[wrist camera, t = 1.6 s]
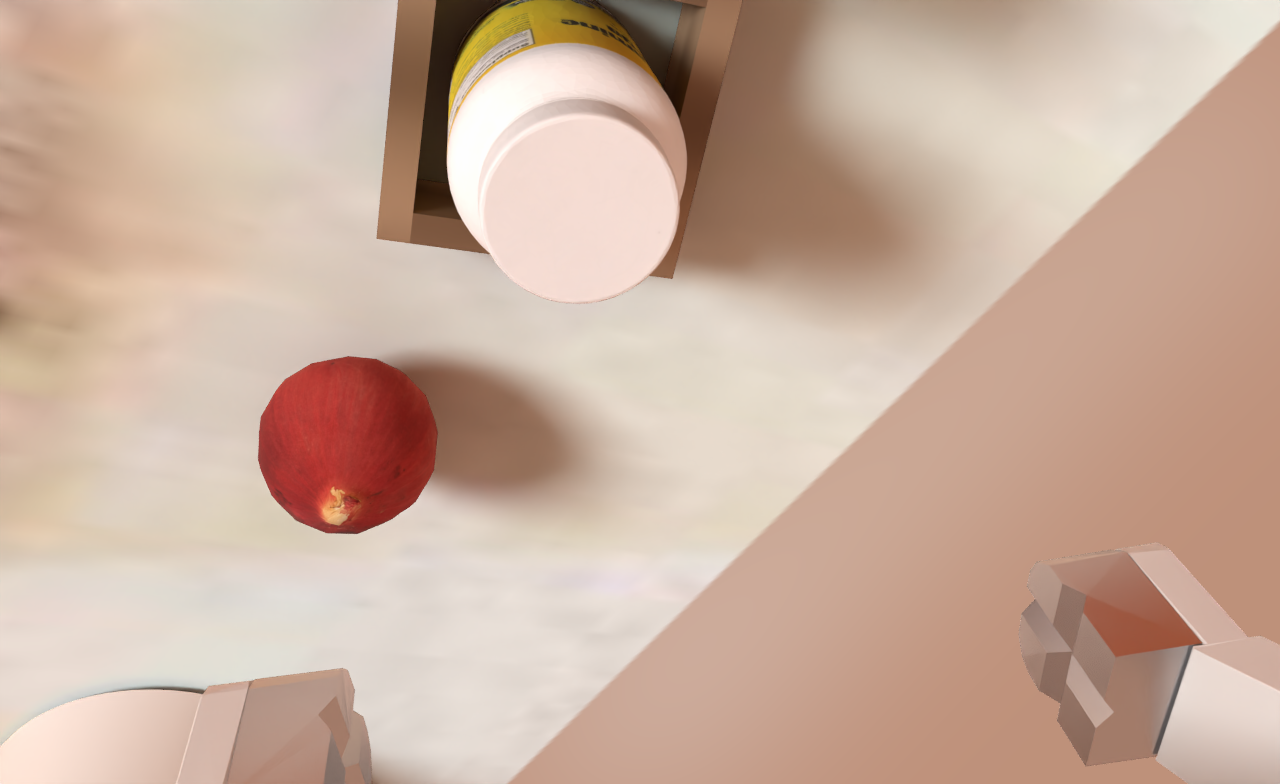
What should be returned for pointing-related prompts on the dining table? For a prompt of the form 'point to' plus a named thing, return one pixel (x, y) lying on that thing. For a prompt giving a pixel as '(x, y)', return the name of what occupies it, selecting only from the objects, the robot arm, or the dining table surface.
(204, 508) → the dining table surface
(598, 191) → the pill bottle
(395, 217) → the stepped holder
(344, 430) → the onion
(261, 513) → the dining table surface
